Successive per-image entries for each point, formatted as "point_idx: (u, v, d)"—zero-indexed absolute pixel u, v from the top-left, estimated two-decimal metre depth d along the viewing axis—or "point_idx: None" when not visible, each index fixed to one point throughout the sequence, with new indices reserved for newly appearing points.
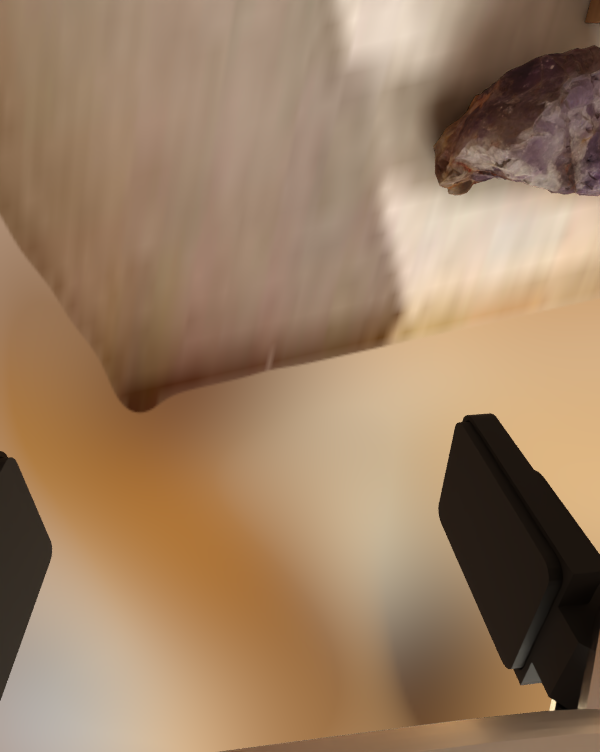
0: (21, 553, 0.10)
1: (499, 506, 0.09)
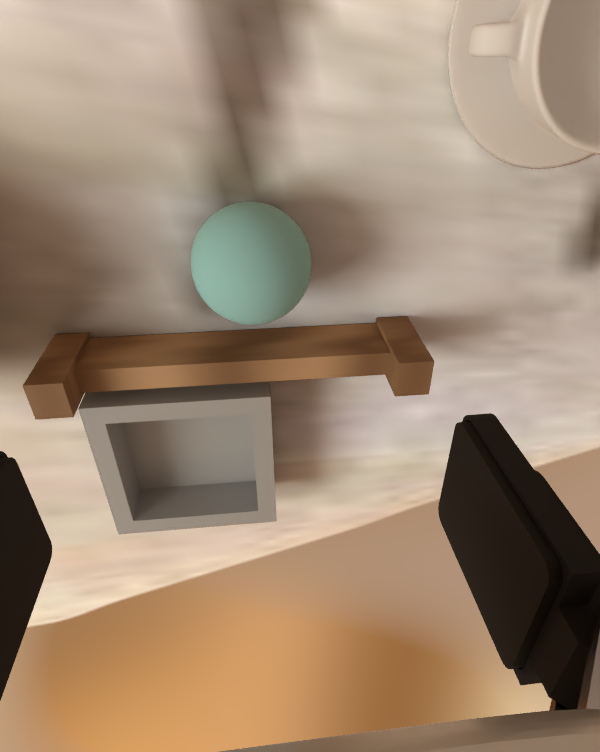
0: (21, 553, 0.10)
1: (499, 506, 0.09)
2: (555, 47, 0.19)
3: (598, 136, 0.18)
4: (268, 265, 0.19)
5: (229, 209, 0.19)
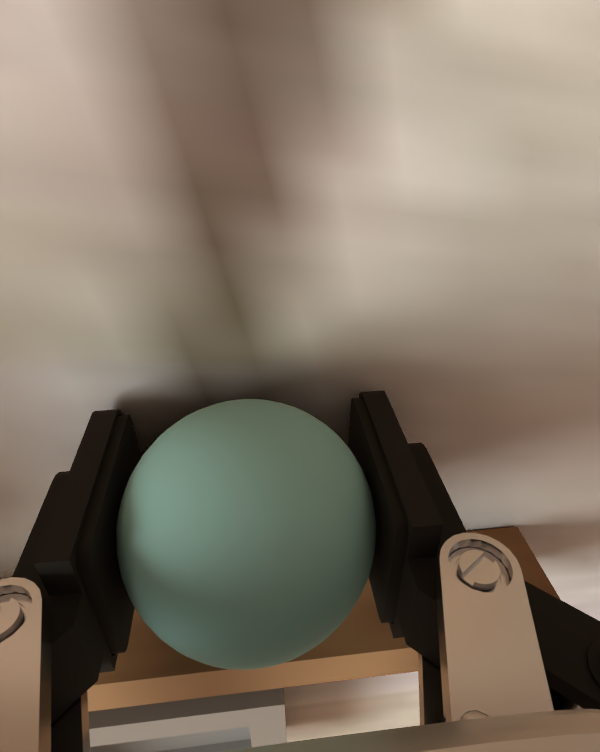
0: None
1: (372, 472, 0.10)
2: None
3: None
4: (290, 600, 0.08)
5: (197, 443, 0.08)
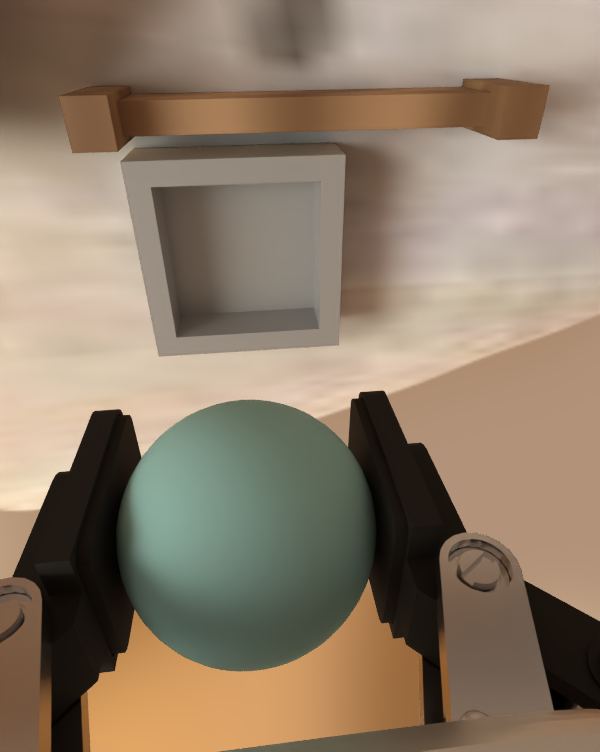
0: None
1: (372, 472, 0.10)
2: None
3: None
4: (291, 602, 0.08)
5: (197, 445, 0.08)
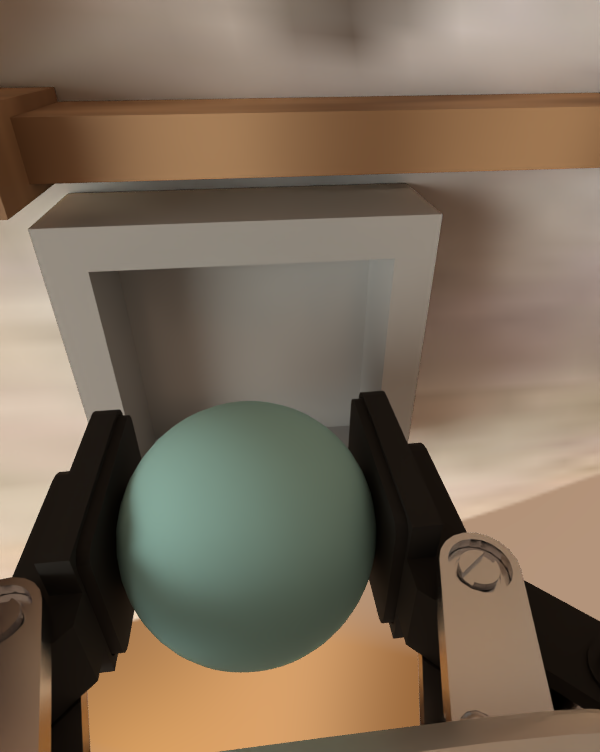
0: None
1: (372, 472, 0.10)
2: None
3: None
4: (290, 603, 0.08)
5: (197, 446, 0.08)
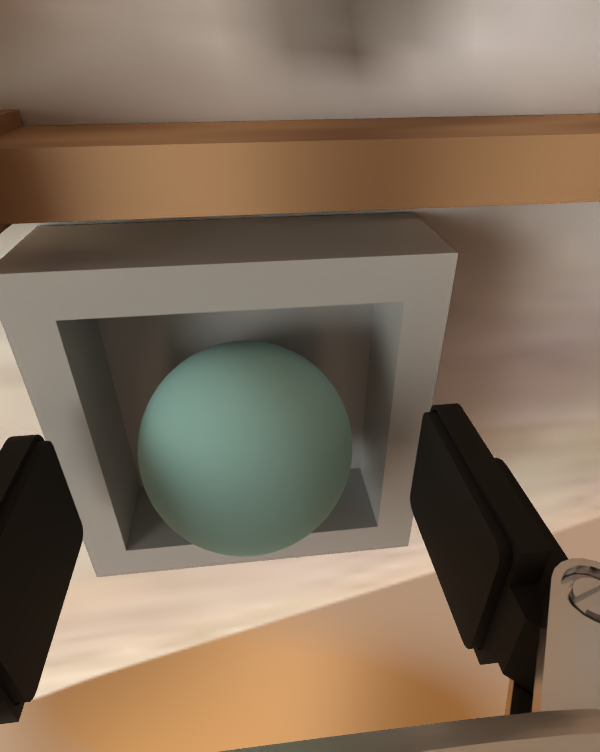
0: (58, 533, 0.10)
1: (459, 491, 0.09)
2: None
3: None
4: (279, 487, 0.10)
5: (204, 368, 0.10)
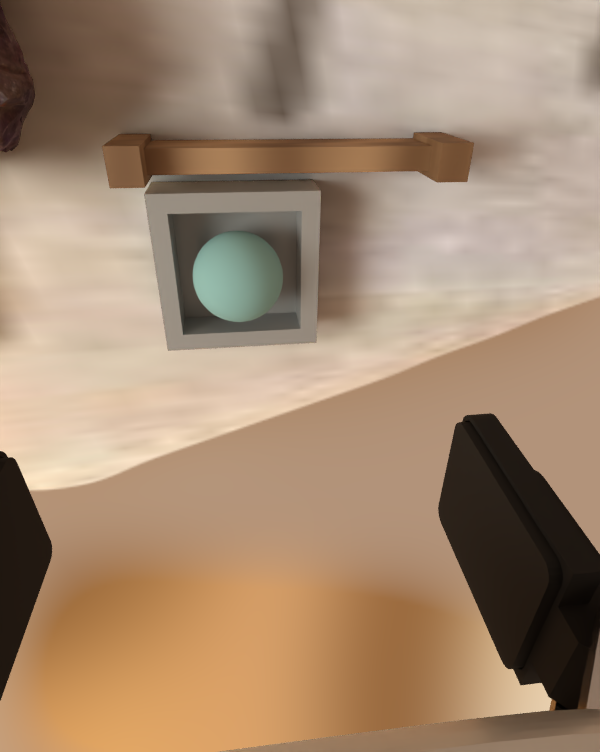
0: (21, 553, 0.10)
1: (499, 506, 0.09)
2: None
3: None
4: (249, 277, 0.26)
5: (221, 236, 0.26)
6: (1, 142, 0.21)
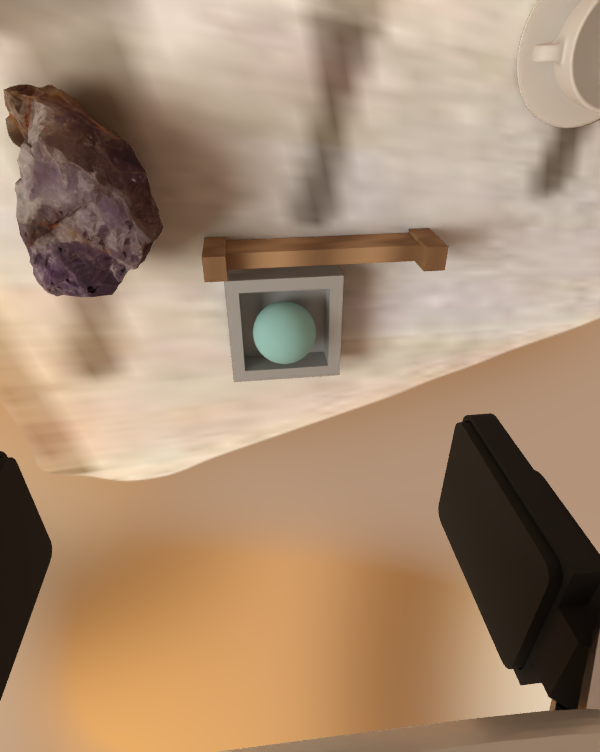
0: (21, 553, 0.10)
1: (499, 506, 0.09)
2: (578, 55, 0.34)
3: None
4: (293, 337, 0.38)
5: (274, 307, 0.38)
6: (141, 261, 0.33)
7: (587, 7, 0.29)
